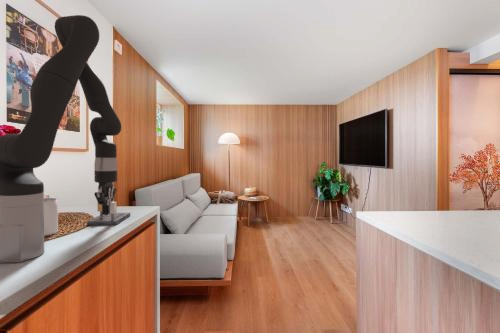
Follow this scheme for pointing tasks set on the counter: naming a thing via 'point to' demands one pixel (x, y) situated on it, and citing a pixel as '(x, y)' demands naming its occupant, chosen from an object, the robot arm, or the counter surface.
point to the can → (50, 216)
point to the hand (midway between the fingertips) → (106, 214)
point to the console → (108, 219)
